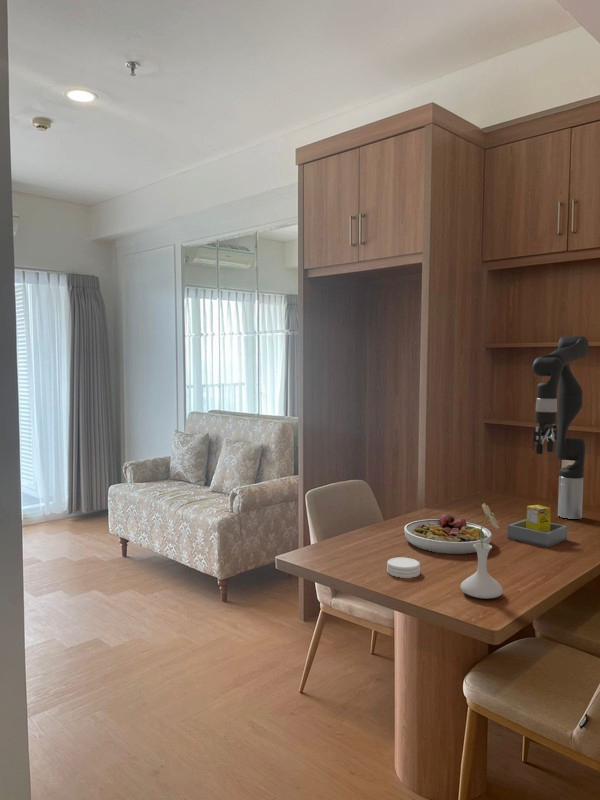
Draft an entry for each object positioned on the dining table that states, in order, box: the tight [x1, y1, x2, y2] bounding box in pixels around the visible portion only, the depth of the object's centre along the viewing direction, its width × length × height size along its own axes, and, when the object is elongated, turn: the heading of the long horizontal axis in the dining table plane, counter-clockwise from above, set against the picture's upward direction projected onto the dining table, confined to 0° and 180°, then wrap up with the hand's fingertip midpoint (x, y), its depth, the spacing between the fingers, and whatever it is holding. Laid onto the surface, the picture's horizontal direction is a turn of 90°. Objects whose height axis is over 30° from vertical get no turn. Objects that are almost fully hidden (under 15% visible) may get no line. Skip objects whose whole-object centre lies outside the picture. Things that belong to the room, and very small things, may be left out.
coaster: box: [386, 556, 421, 579], centre depth 186 cm, size 10×10×4 cm
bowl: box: [403, 513, 492, 555], centre depth 217 cm, size 30×30×8 cm
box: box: [507, 518, 568, 549], centre depth 222 cm, size 15×15×5 cm
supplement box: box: [525, 504, 552, 533], centre depth 222 cm, size 6×6×11 cm
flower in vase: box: [460, 502, 504, 600], centre depth 169 cm, size 13×11×25 cm
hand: (544, 452), depth 232 cm, fingers open, 8 cm apart
